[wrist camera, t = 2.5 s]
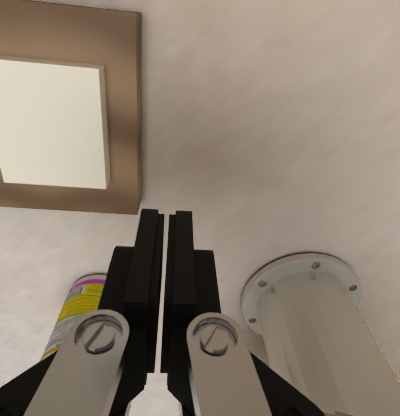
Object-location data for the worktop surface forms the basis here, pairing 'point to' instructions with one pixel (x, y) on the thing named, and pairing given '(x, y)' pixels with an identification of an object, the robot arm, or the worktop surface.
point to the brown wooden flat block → (114, 85)
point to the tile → (53, 123)
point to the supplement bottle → (75, 308)
